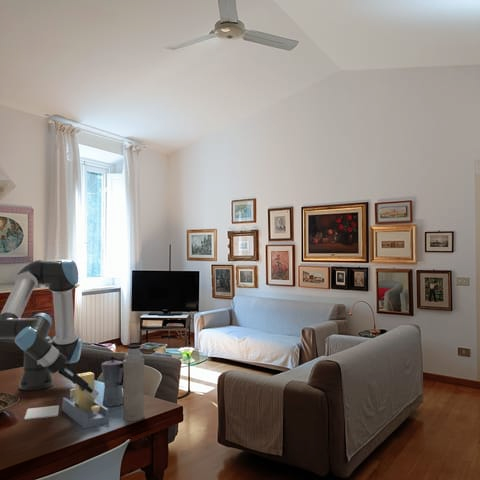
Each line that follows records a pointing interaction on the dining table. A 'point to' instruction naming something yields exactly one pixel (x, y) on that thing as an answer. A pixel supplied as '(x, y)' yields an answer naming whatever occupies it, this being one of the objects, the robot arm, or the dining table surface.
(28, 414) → the white square mat
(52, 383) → the robot arm
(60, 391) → the dining table surface
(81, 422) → the grey divided tray
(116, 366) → the moka pot
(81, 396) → the tan cardboard box
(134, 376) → the thermos bottle
